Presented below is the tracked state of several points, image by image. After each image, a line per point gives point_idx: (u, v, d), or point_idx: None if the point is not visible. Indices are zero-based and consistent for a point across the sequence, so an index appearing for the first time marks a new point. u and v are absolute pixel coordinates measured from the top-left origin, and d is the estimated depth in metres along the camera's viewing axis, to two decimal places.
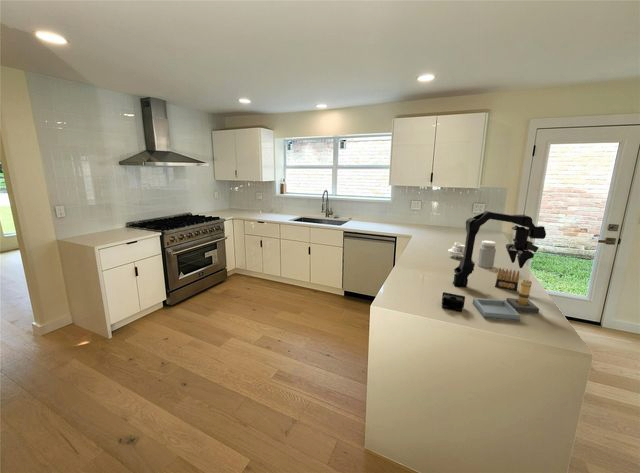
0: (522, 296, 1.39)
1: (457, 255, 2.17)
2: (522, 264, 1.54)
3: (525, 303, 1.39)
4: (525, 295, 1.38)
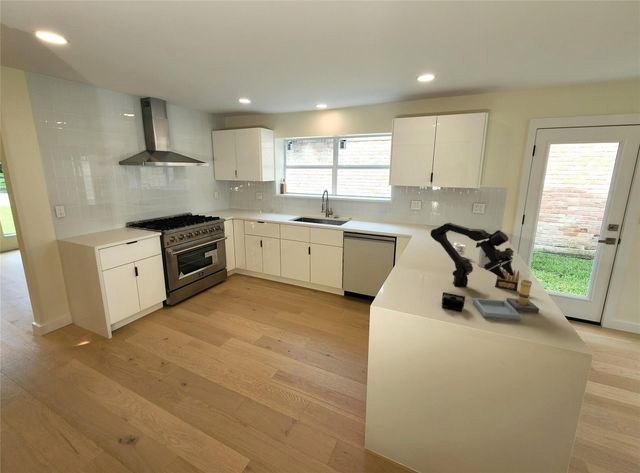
0: (522, 296, 1.39)
1: None
2: (501, 275, 1.43)
3: (525, 303, 1.39)
4: (525, 295, 1.38)
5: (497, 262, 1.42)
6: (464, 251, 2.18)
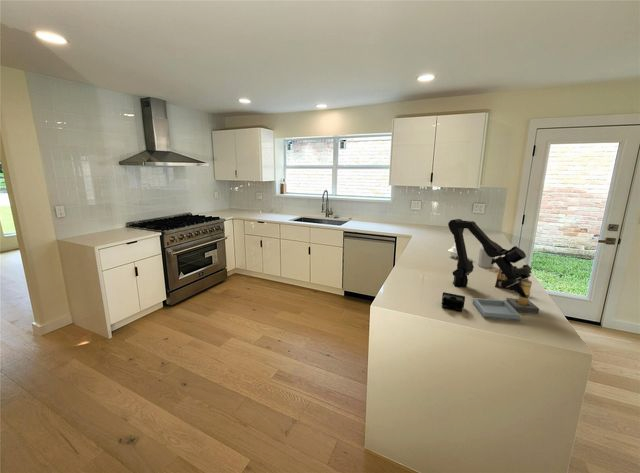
0: (522, 296, 1.39)
1: (457, 255, 2.17)
2: (521, 292, 1.38)
3: (525, 303, 1.39)
4: None
5: (514, 280, 1.36)
6: None
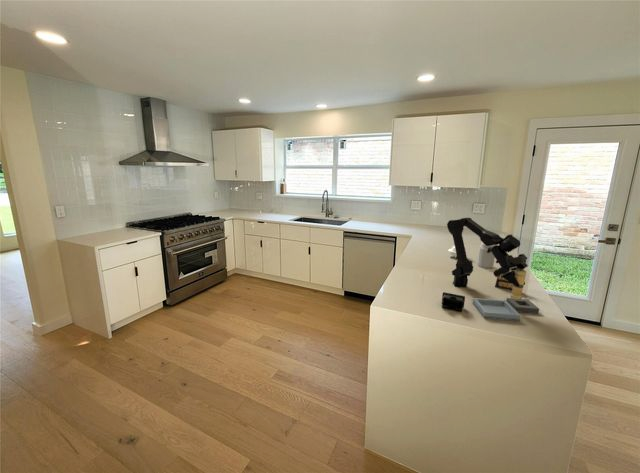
0: (516, 286, 1.35)
1: None
2: (514, 282, 1.34)
3: (519, 293, 1.35)
4: None
5: (507, 269, 1.33)
6: None
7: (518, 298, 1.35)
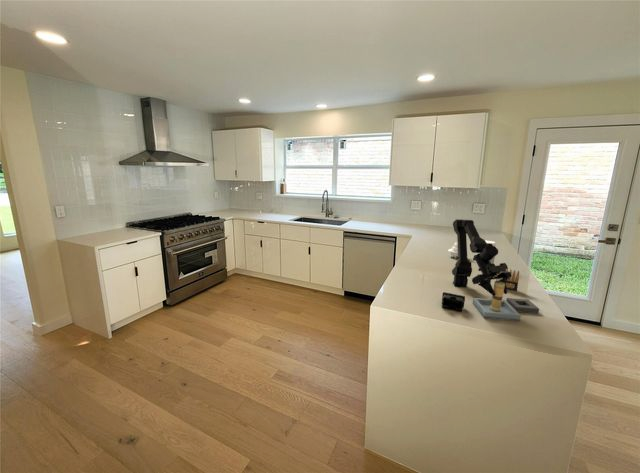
0: (494, 298, 1.34)
1: (457, 255, 2.17)
2: (490, 290, 1.33)
3: (497, 305, 1.34)
4: (497, 297, 1.33)
5: (484, 276, 1.33)
6: None
7: (496, 310, 1.35)
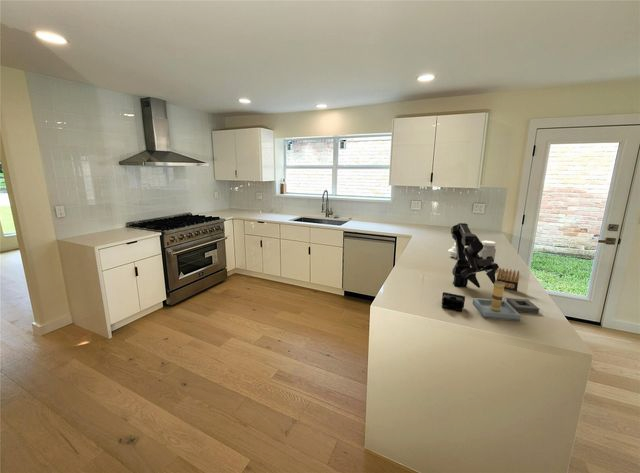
0: (494, 298, 1.34)
1: None
2: (476, 283, 1.43)
3: (497, 305, 1.34)
4: (496, 297, 1.33)
5: (471, 270, 1.42)
6: None
7: (496, 310, 1.35)
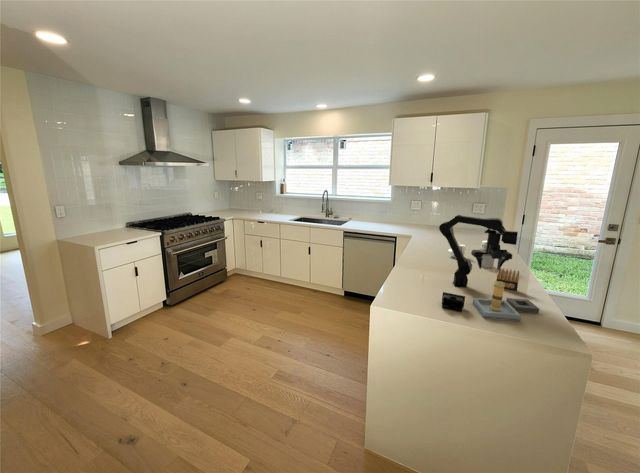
0: (494, 298, 1.34)
1: None
2: (479, 264, 1.57)
3: (497, 305, 1.34)
4: (496, 296, 1.33)
5: (479, 255, 1.53)
6: (464, 251, 2.18)
7: (496, 310, 1.35)
